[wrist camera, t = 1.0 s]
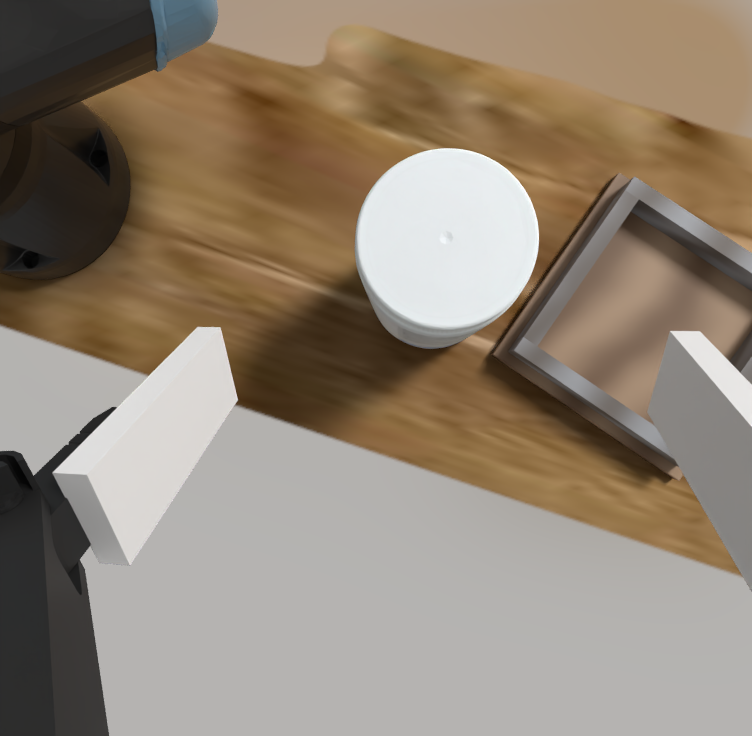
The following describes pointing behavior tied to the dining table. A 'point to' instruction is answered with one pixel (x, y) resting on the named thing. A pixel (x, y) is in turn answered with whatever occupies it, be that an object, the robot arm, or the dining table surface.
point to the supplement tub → (444, 245)
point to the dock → (631, 311)
